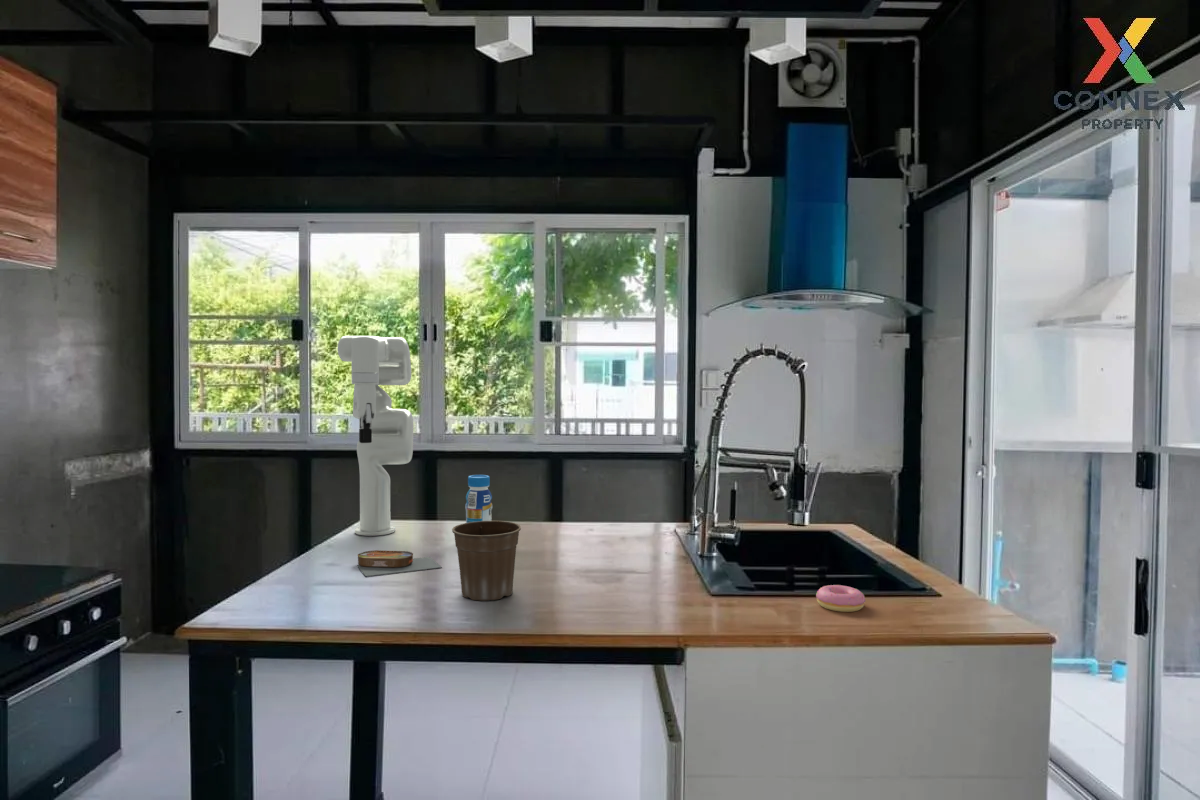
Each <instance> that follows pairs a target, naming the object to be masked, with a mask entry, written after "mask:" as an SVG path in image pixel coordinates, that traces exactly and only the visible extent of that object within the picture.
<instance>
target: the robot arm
mask: <svg viewBox="0 0 1200 800" xmlns="http://www.w3.org/2000/svg"><path fill="white" fill-rule="evenodd" d="M337 354H338V357H339V359H340V360H341V362H351V385H353V386H354V387H353V398H352V399H353V401H352V403H353V404H352V416H353V418H355V419H358V421H359V422H358V423H359V429H358V432H359V434H358V436H359V437H358V438H359V439H358V441H357V444H356V454H357V460H358V467H359V526H358V527H356V528H355V529H354V533H355V534H356V535H358V536H365V537H366V536H369V537H372V536H373V537H375V536H376V537H377V536H384V535H389V534H393V533H394V532H396V527H395V525H392V524H391V477H390V474H389V473H388V472H387V470H386V469H385V468H384V466H386V465H405V464H409V463H410V462H411V461H412V459H413V454H414V453H413V452H414V428H415V427H414V416H413V414H412V412H411V411H410V410H409V409H406V408H392V406H393V405H392V404H393V402H392V401H393V400H392V398H391V397H390V395H389V394H388V393H387V391H386V390H384V389H383V388H382V387H381V386H406V385H408V384H409V383H410V382H411V379H412V363H411V352H410V347H409V344H408V342H407V340H406V339H405V338H403V337H398V336H397V337H395V336H394V337H392V336H391V337H388V336H384V337H383V336H376V335H344V336H341V337H340V339H339V341H338V343H337Z"/></svg>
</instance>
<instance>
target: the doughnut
mask: <svg viewBox="0 0 1200 800" xmlns="http://www.w3.org/2000/svg"><path fill="white" fill-rule="evenodd" d="M815 598H816V601H817V603H818V605H819V606H820V607H822V608H825V609H827V610H830V611H833V612H839V613H840V612H841V613H853V612H858V611H860V610H861V609H863V608H864V606H865V602H866V596H865V594H864V593H863V592H862V591H860V590H859V589H858V588H854V587H851V586H847V585H841V584H833V585H832V584H830V585H829V584H828V585H823V586H822V587H820V588H819V589H817V591H816V594H815Z"/></svg>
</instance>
